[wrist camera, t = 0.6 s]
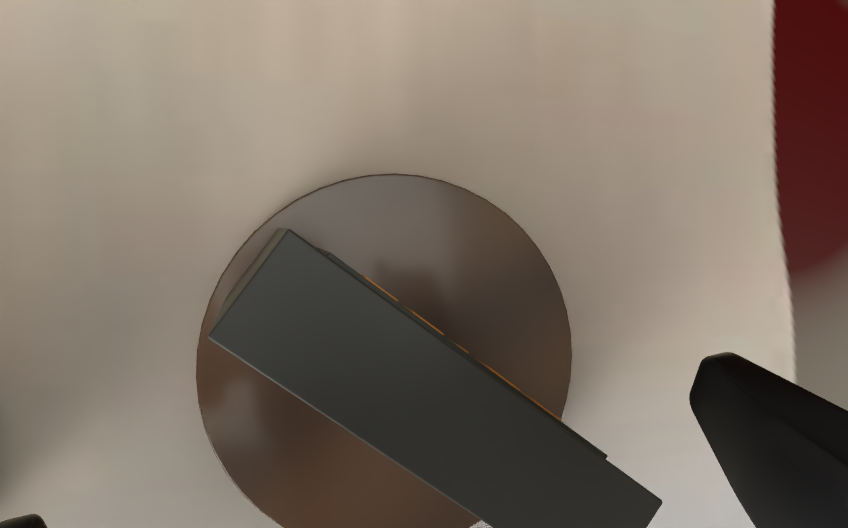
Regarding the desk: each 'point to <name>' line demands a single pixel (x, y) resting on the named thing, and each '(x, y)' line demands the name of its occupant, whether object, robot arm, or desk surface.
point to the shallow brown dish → (418, 291)
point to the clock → (418, 395)
